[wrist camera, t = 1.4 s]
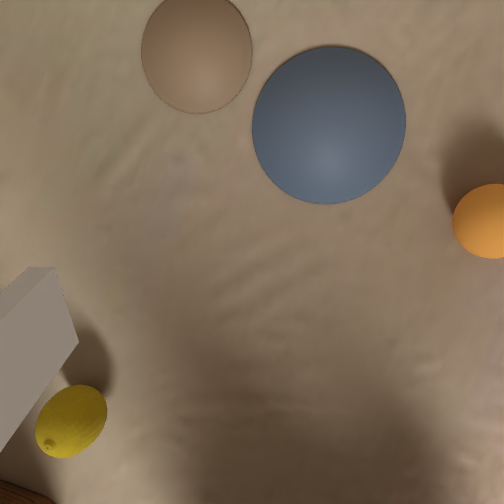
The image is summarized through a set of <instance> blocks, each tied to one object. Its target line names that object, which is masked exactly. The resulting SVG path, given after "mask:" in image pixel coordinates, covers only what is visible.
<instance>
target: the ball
mask: <svg viewBox="0 0 504 504" xmlns="http://www.w3.org/2000/svg"><path fill="white" fill-rule="evenodd" d="M452 226H453V231H454V234H455V236H456V239H457V240H458V242H459V243H460V244H461V245H462V246H463V247H464V248H465V249H466V250H467V251H469V252H470V253H472V254H475V255H477V256H480V257H484V258H492V259H495V258H503V257H504V184H488V185H483V186H480V187H478V188H475V189H473V190H472V191H470V192H469V193H467V194H466V195H465V196H464V197H463V198H462V199H461V200H460V202H459V203H458V204H457V206H456V208H455V211H454V214H453V219H452Z"/></svg>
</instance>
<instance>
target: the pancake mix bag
mask: <svg viewBox="0 0 504 504" xmlns="http://www.w3.org/2000/svg"><path fill="white" fill-rule="evenodd" d="M0 504H55V503H54V502H53V501H51V500H50V499H49V498H47V497H46V496H43V495H41V494H38V493H35V492H32V491H30V490H27V489H24V488H21V487H19V486H16V485H13V484H11V483H8V482H5V481H2V480H0Z"/></svg>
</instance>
